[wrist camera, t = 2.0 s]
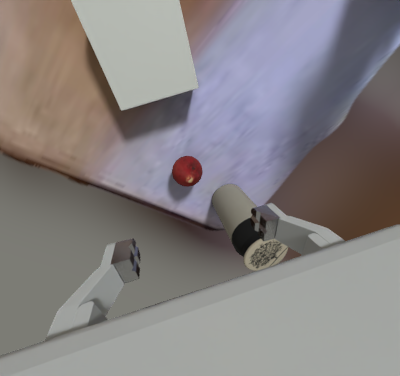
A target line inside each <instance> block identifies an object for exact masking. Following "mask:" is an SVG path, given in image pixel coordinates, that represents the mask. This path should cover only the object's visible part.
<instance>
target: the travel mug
mask: <svg viewBox="0 0 400 376" xmlns="http://www.w3.org/2000/svg"><path fill="white" fill-rule="evenodd" d="M212 204H213V206H214V208H215V210H216V212H217V214H218V216H219V218H220V220H221V222H222V224H223V226H224V228H225V230H226V232H227V234H228V236H229V238H230V240H231V242H232V244H233V246H234V248H235V249H236V251H237V252H238V253H239V254H240V255H242V256H243V257H244V264H245V266H246V267H247V268H248V269H250V270H254V271H258V270H261V269H264V268H267V267H270V266H273V265H276V264H277V263H279V262H280V261H281V260H282V259H283V258H284V256H285V255H286V253H287V250H288V246H286V245H284V244H282V243H281V242H279V241H277V240H275V239H272V240H268V241H263V240H262V239H261V238H260V236H259V235H258V231H255V230H254V229H253V227H252V225H251V222H250V218H251V216H252V214H251V209H252V208H255V207H257V206H256V205H255V204H254V203H253V202H252V201H251V200H250V199H249V198H248V196H247V195H246V194H245V193H244V192H243V191H242V190H241V189H240V188H239V187H238V186H236V185H234V184H227V185H224V186H221V187H220V188H218V189H217V190H216V192H215V193H214V195H213V198H212Z"/></svg>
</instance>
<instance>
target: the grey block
mask: <svg viewBox="0 0 400 376" xmlns="http://www.w3.org/2000/svg"><path fill="white" fill-rule="evenodd" d="M71 1H72V4H73V6H74V8H75V10H76V12H77V15H78V17H79V19H80V21H81V23H82V26H83V28H84V30H85V32H86V34H87V37H88V39H89V41H90V43H91V45H92V48H93V50H94V52H95V54H96V56H97V59H98V61H99V63H100V65H101V67H102V70H103V72H104V74H105V76H106V78H107V80H108V83H109V85H110V87H111V89H112V91H113V94H114V96H115V98H116V100H117V102H118V105H119V107H120V109H121V111H122V110H128V109H131V108H134V107H138V106H141V105H145V104H148V103H151V102H155V101H158V100H161V99H165V98H168V97H171V96H175V95H178V94H182V93H185V92H188V91H192V90H194V89H197V88H199V87H198V83H197V78H196V74H195V69H194V65H193V60H192V56H191V51H190V47H189V42H188V38H187V33H186V29H185V24H184V20H183V15H182V11H181V6H180V2H179V0H71Z"/></svg>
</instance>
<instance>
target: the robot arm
mask: <svg viewBox="0 0 400 376" xmlns="http://www.w3.org/2000/svg"><path fill="white" fill-rule="evenodd" d="M251 214H252V216H251V218H250V222H251V225H252V227H253V229H254V230H255V231H258V235H259V236H260V238H261V239H262V240H263V241H268V240H272V239H275V240H277V241H279V242H281V243H282V244H284V245H286V246H288V247H290V248H291V249H293V250H295V251H297V252H299V253H300V254H302V256H300V257H297V258H294V259H291V260H288V261H285V262H282V263H279V264H276V265H273V266H270V267H267V268H264V269H261V270H258V271H255V272H252V273H249V274H246V275H243V276H240V277H237V278H234V279H231V280H228V281H225V282H222V283H219V284H216V285H213V286H210V287H207V288H204V289H201V290H197V291H194V292H191V293H188V294H185V295H182V296H179V297H177V298H173V299H170V300H167V301H164V302H161V303H158V304H155V305H152V306H149V307H146V308H143V309H140V310H137V311H134V312H131V313H128V314H125V315H122V316H119V317H116V318H113V319H110V320H107V318H106V317H105V316H106V315H107V313H108V311H109V309H110V308H111V306H112V304H113V303H114V301H115V299H116V298H117V296H118V294H119V293H120V291H121V289H122V288H123V286H124V283H127V282H131V281H134V280H136V279H139V272H140V268H139V266H138V265H139V263H140V252H139V249H138V247H136V242H135V240H134V239H129V240H124V241H120V242H116V243H112V244H108V245H107V246H106V250H105V253H104V256H103V259H102V262H101V266H100V268H97V269H96V270H95V271H94V272H93V274H92V275H91V276H90V277H89V278H88V279H87V280H86V281H85V282H84V283H83V284H82V285H81V286H80V287H79V289H78V290H77V291H76V292H75V293H74V294H73V295H72V296H71V297H70V298H69V299H68V300H67V302H65V304H64V305H63V306H62V307H61V308H60V309H59V310H58V312H57V314H56V316H55V318H54V321H53V323H52V325H51V328H50V330H49V332H48V335H47V337H46V339H45V341H43V342H40V343H37V344H34V345H31V346H28V347H25V348H22V349H19V350H16V351H13V352H10V353H7V354H4V355H1V356H0V376H400V225H395V226H391V227H388V228H385V229H382V230H379V231H376V232H373V233H370V234H367V235H364V236H361V237H358V238H355V239H352V240H349V241H344V240H343V239H341V238H340V237H339V236H338V235H336V234H335V233H333V232H332V231H330V230H329V229H328V228H325V227H322V226H319V225H316V224H313V223H310V222H307V221H304V220H301V219H298V218H295V217H292V216H287V215H285V214H284V213H283V212H282V211H281V210H280V209H279V208H277V207H276V206H275V205H274V204H272V203H270V204H266V205H262V206H259V207H255V208H252V209H251Z"/></svg>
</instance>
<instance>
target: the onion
mask: <svg viewBox="0 0 400 376" xmlns="http://www.w3.org/2000/svg"><path fill="white" fill-rule="evenodd" d="M172 174H173V178H174V179H175V181H176V182H177V183H178V184H181V185H182V186H193V185H195V184H196V183H198V182H199V180H200V179H201V176H202V166H201V164H200V163H199V161H198V160H197V159H195V158H194V157H192V156H184V157H181V158H179V159H178V160H177V161H176V162H175V164H174V165H173V169H172Z"/></svg>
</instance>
